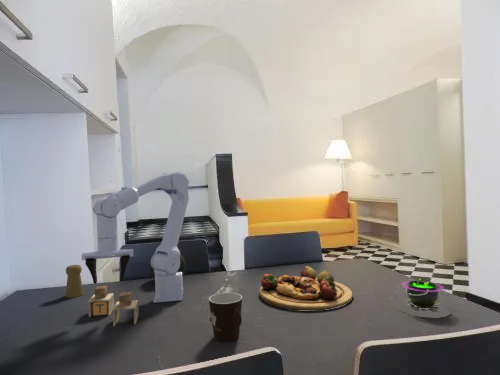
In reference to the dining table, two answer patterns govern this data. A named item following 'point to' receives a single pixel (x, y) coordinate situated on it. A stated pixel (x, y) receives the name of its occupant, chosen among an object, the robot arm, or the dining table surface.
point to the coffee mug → (226, 316)
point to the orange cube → (100, 308)
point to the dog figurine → (229, 284)
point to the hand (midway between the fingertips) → (109, 281)
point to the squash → (181, 269)
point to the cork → (74, 281)
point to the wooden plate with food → (304, 291)
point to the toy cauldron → (422, 294)
